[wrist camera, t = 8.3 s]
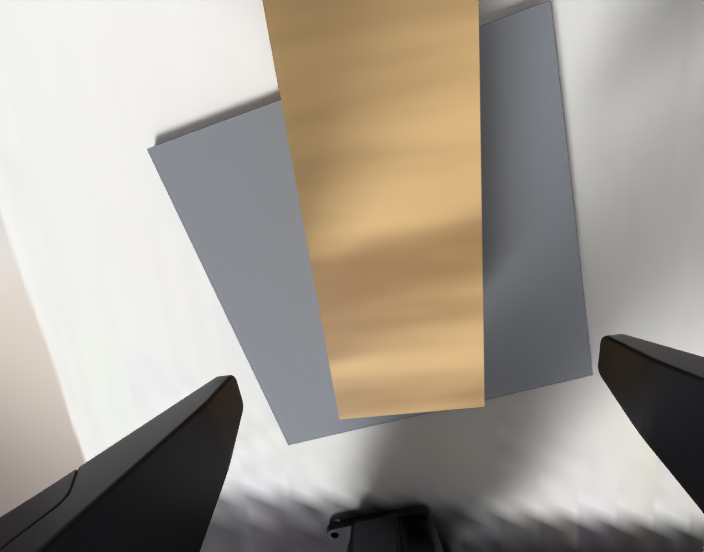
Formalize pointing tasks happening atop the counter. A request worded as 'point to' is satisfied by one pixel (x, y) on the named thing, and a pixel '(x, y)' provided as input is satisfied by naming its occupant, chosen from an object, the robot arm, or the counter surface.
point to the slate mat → (497, 236)
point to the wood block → (389, 193)
